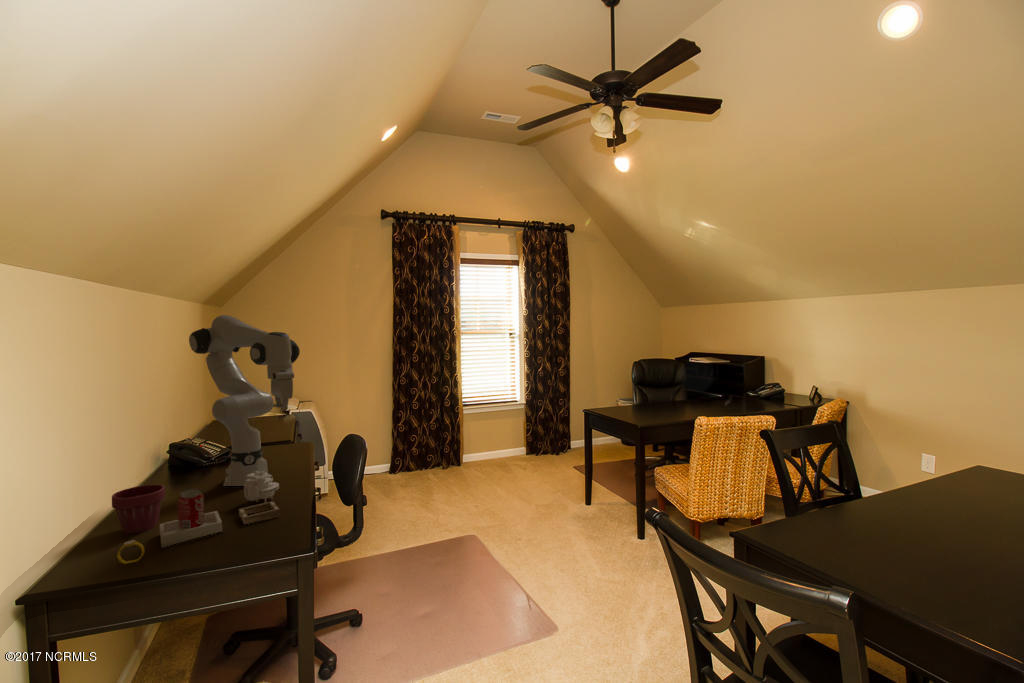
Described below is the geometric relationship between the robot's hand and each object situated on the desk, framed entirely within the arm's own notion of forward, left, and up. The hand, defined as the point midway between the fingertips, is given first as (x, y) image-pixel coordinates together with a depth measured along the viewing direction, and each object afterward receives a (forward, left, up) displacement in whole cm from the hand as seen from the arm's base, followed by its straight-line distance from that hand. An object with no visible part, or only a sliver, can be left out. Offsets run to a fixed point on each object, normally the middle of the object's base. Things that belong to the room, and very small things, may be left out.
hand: (282, 408), depth 183 cm
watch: (+26, -47, -35) cm, 64 cm away
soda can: (+12, -32, -34) cm, 48 cm away
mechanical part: (-3, -8, -35) cm, 36 cm away
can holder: (+14, -12, -35) cm, 40 cm away
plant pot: (-4, -45, -35) cm, 57 cm away
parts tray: (+14, -32, -35) cm, 50 cm away
